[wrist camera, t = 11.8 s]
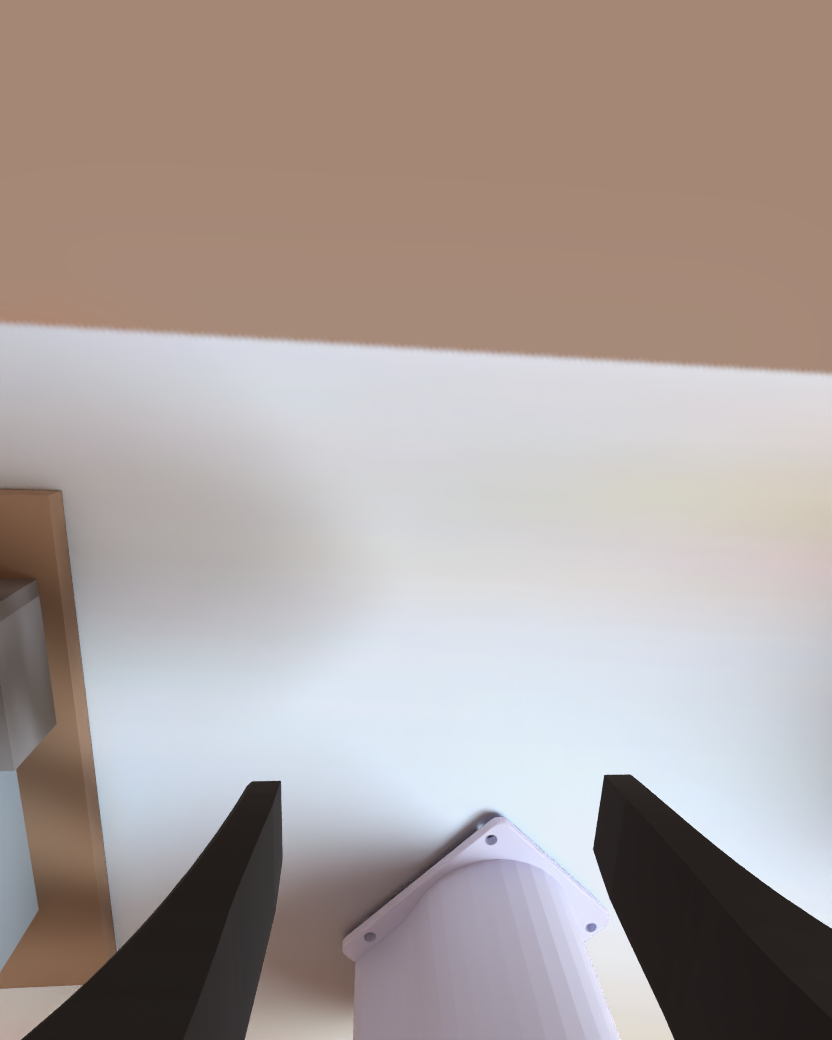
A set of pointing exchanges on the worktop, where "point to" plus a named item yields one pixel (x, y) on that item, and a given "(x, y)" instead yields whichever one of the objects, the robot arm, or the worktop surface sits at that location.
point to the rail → (14, 869)
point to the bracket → (50, 748)
